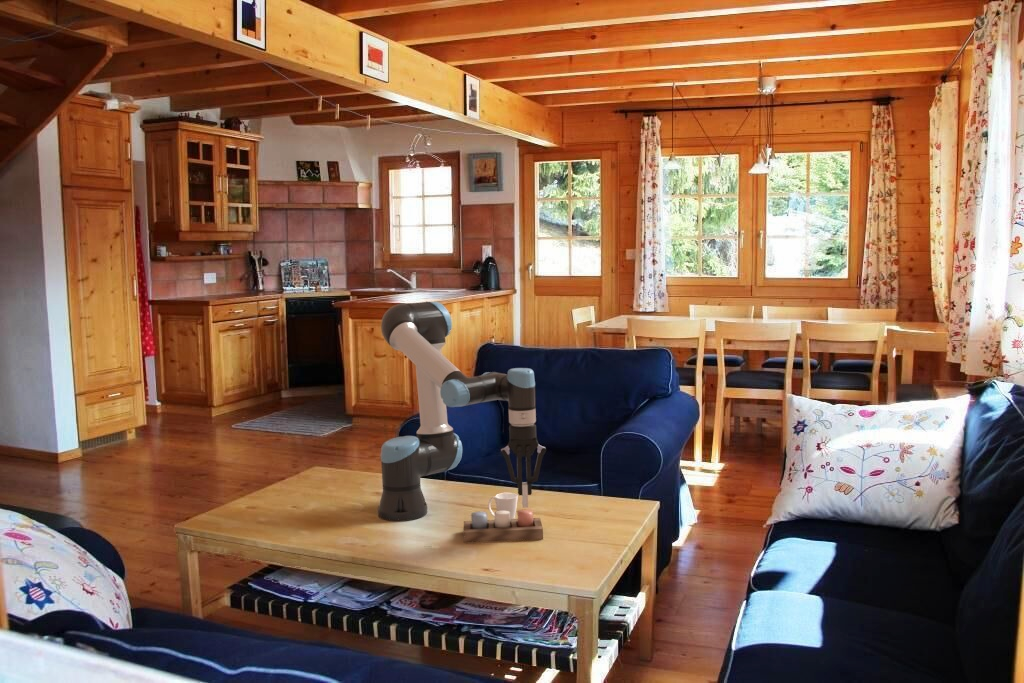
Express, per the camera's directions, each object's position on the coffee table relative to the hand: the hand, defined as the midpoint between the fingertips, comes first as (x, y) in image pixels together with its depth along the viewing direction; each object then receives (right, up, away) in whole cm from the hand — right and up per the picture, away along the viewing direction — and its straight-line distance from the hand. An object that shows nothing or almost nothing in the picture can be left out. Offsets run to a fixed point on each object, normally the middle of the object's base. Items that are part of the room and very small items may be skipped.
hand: (525, 506), depth 246 cm
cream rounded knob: (-6, -6, 0) cm, 9 cm away
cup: (-6, -7, +13) cm, 16 cm away
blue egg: (-13, -6, 0) cm, 14 cm away
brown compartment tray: (-6, -8, +1) cm, 11 cm away
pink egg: (0, -6, +1) cm, 6 cm away
